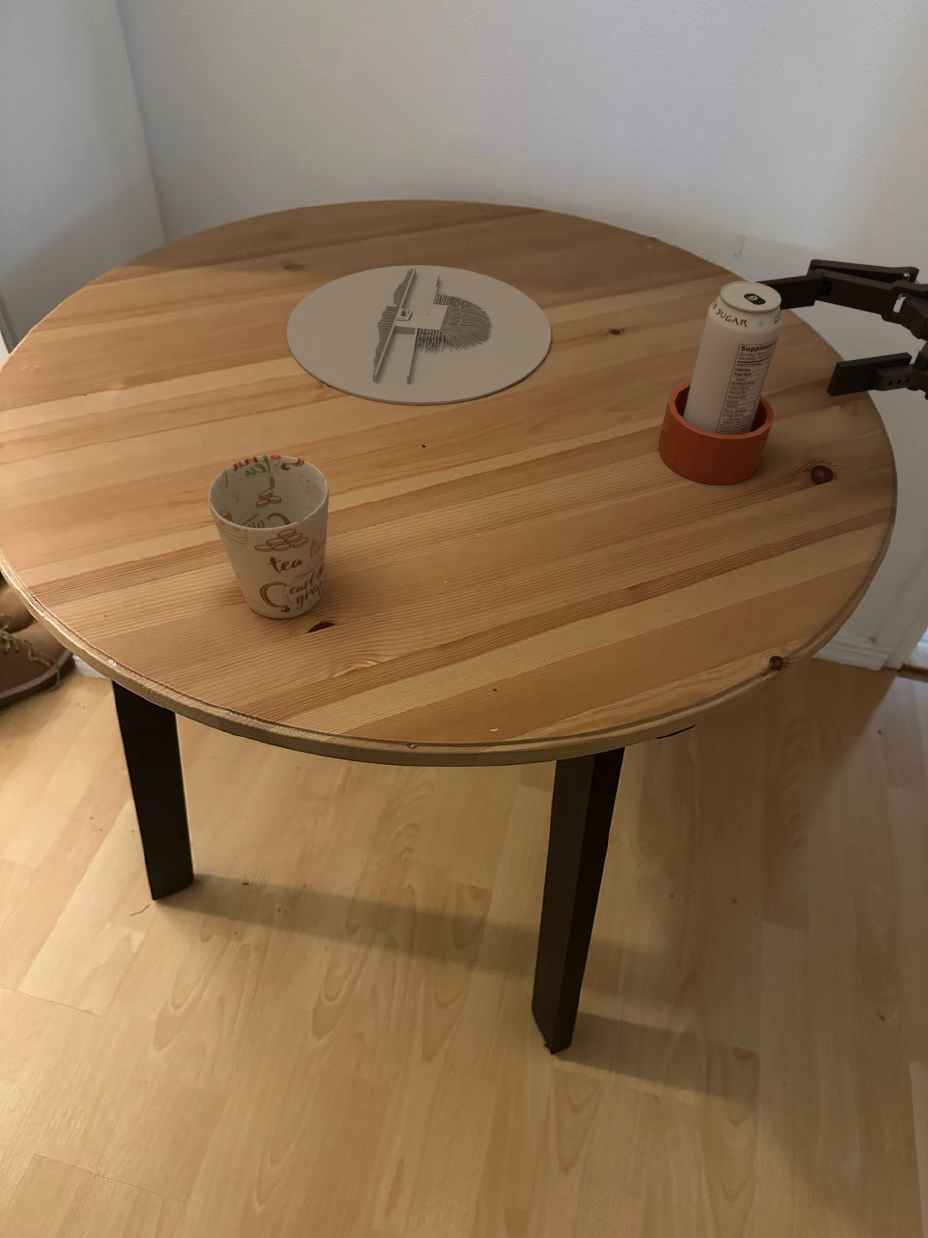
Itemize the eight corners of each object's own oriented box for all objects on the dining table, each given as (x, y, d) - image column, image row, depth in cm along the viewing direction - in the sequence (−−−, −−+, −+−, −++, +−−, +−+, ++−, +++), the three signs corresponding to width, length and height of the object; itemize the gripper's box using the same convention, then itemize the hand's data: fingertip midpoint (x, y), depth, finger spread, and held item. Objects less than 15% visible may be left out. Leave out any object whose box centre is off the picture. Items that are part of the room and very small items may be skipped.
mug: (233, 638, 70) (211, 536, 63) (222, 528, 79) (201, 427, 71) (345, 621, 72) (336, 520, 65) (322, 515, 80) (312, 415, 73)
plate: (325, 256, 112) (324, 246, 111) (561, 281, 110) (563, 271, 109) (251, 386, 93) (250, 376, 92) (536, 420, 91) (537, 409, 90)
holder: (778, 454, 88) (793, 408, 84) (723, 498, 83) (737, 452, 80) (695, 412, 92) (706, 367, 89) (638, 452, 88) (648, 406, 84)
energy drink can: (713, 422, 90) (753, 271, 79) (757, 456, 87) (804, 303, 76) (663, 439, 88) (697, 287, 77) (706, 475, 85) (748, 320, 74)
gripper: (1077, 421, 80) (857, 459, 75) (903, 282, 96) (714, 305, 92) (1125, 341, 74) (891, 376, 70) (932, 207, 91) (732, 229, 86)
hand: (790, 336), depth 81 cm, fingers open, 13 cm apart
